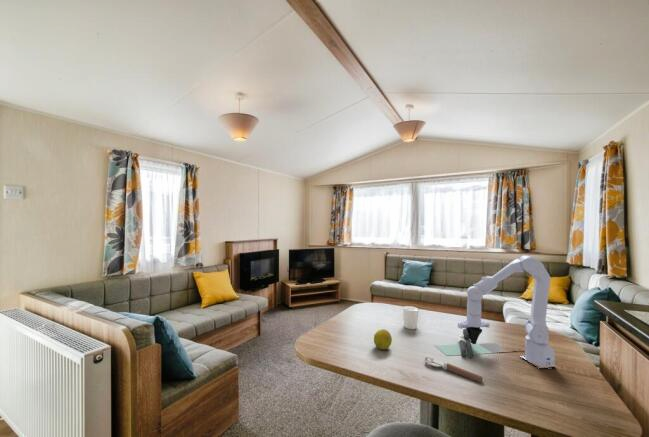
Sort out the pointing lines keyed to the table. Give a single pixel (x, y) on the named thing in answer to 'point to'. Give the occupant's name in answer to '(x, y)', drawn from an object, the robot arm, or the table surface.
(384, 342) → the lemon
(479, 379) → the brown handled opener
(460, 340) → the can opener
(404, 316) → the white cup
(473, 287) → the robot arm
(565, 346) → the table surface
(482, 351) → the mat
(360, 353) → the table surface
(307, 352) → the table surface
